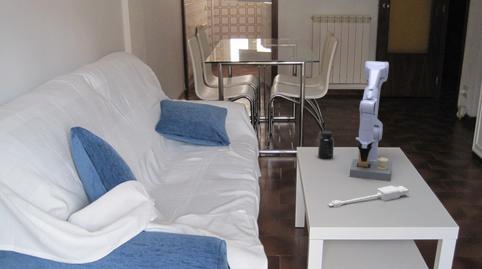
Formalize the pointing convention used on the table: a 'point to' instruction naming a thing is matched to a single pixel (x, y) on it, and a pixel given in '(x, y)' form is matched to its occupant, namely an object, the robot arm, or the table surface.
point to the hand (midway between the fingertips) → (364, 159)
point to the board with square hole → (372, 169)
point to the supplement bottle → (326, 145)
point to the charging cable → (378, 195)
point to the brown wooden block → (363, 164)
